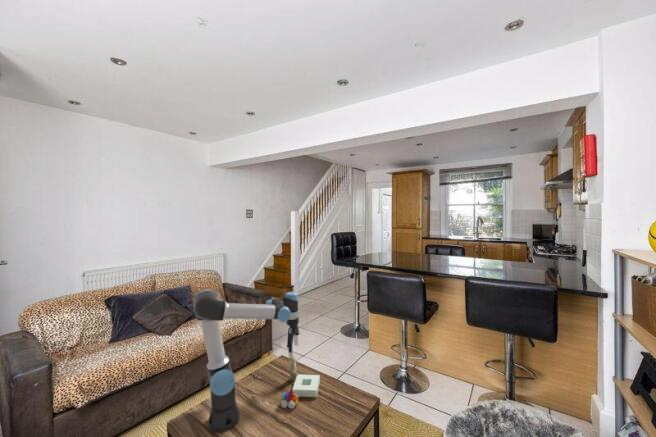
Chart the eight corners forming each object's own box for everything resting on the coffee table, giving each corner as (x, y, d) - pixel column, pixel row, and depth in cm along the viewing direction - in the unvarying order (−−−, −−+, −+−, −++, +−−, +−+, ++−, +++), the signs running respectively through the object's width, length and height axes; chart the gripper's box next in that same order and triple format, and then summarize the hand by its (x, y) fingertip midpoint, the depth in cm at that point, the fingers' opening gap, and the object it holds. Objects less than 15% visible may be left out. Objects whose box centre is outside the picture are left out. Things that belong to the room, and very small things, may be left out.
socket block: (292, 396, 158) (292, 389, 158) (297, 380, 172) (297, 374, 171) (316, 397, 156) (316, 390, 156) (319, 381, 170) (319, 375, 170)
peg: (289, 381, 171) (288, 359, 171) (290, 377, 175) (290, 356, 174) (295, 381, 171) (295, 359, 170) (297, 377, 175) (296, 356, 174)
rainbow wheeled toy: (295, 411, 146) (295, 397, 146) (278, 408, 148) (278, 395, 148) (300, 399, 155) (300, 387, 154) (284, 397, 157) (283, 385, 156)
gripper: (293, 326, 157) (294, 362, 158) (302, 309, 182) (303, 341, 183) (280, 326, 158) (282, 361, 159) (291, 309, 183) (292, 340, 184)
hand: (293, 350), depth 171 cm, fingers open, 13 cm apart
